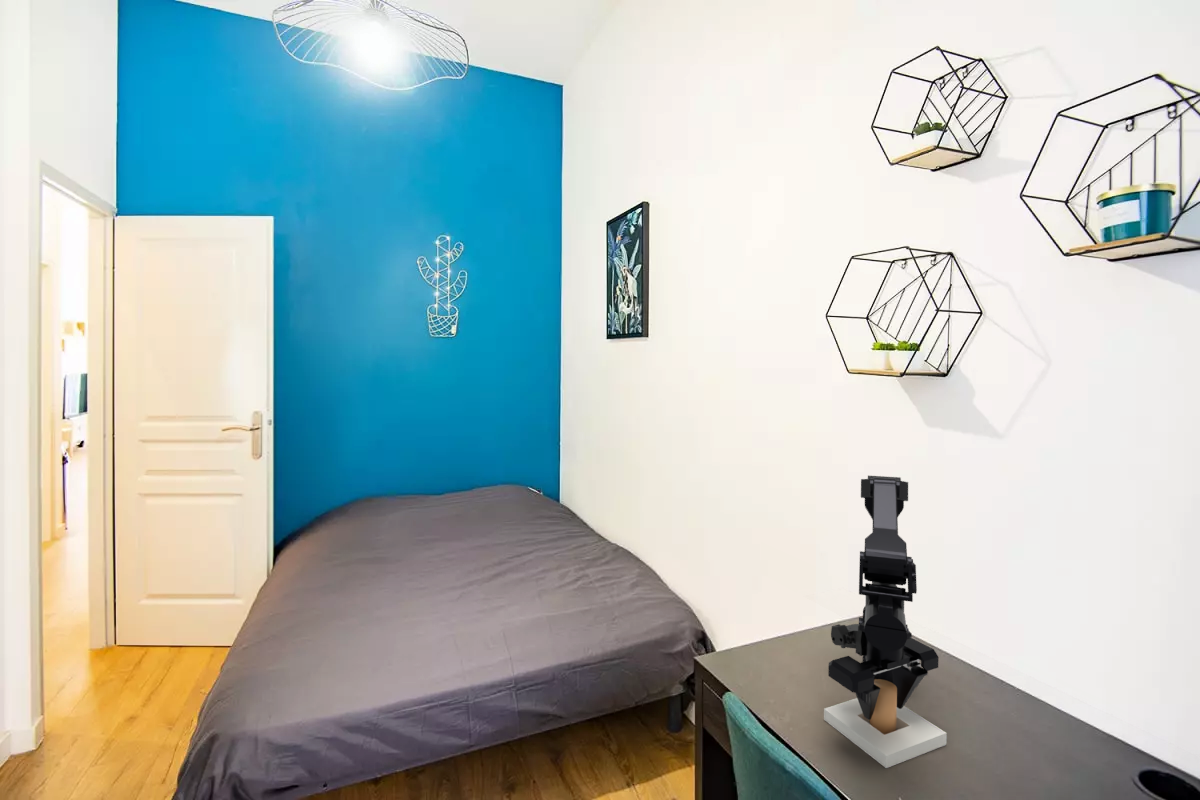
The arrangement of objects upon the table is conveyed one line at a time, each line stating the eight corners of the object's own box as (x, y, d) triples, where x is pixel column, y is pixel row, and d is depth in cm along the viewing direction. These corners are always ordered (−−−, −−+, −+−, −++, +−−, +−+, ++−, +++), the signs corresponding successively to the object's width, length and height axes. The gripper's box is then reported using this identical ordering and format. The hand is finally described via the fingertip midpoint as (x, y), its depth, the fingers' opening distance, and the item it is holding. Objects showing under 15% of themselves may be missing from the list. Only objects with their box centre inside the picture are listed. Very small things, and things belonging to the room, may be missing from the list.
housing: (880, 701, 106) (880, 690, 106) (946, 744, 94) (946, 732, 94) (823, 719, 101) (823, 708, 101) (886, 768, 89) (886, 755, 89)
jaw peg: (881, 721, 100) (882, 677, 100) (901, 735, 97) (902, 689, 96) (864, 727, 99) (864, 682, 98) (883, 742, 95) (884, 695, 94)
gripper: (885, 593, 107) (884, 675, 108) (804, 613, 100) (804, 700, 101) (941, 618, 97) (939, 708, 98) (855, 642, 90) (854, 739, 91)
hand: (883, 712), depth 97 cm, fingers open, 7 cm apart
